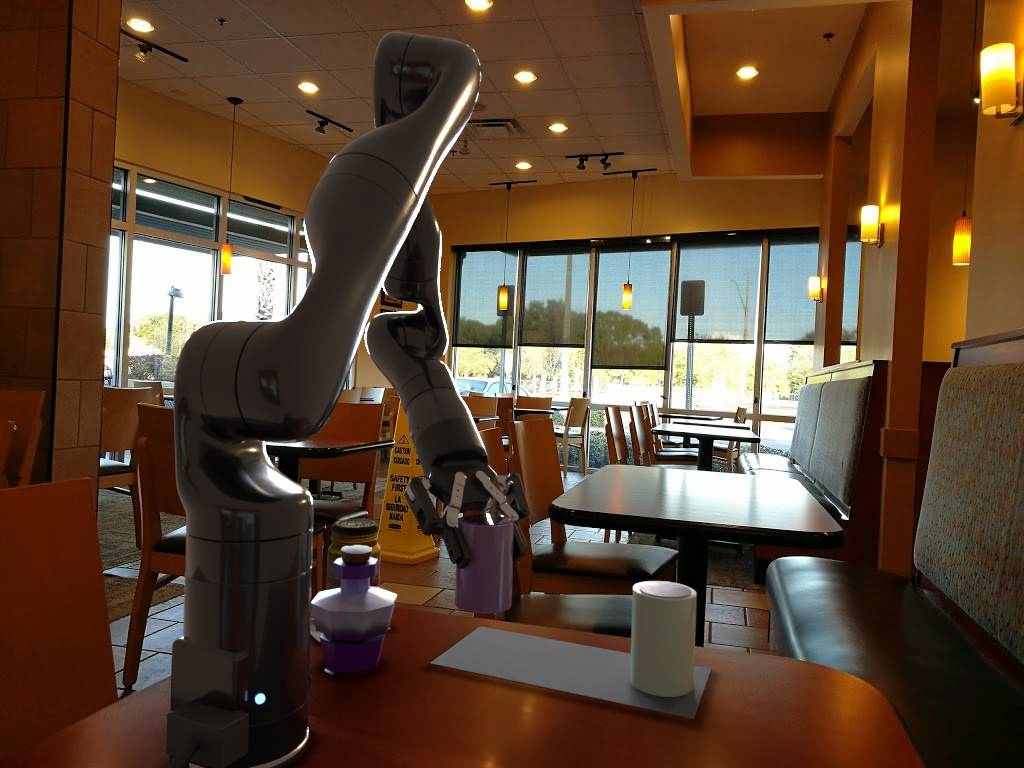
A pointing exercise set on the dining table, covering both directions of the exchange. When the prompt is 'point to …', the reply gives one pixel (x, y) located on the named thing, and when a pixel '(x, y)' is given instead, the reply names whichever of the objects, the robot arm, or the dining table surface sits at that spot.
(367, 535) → the condiment
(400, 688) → the dining table surface
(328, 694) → the dining table surface
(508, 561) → the purple tumbler
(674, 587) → the celadon tumbler
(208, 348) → the robot arm
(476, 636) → the placemat
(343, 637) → the potion bottle
